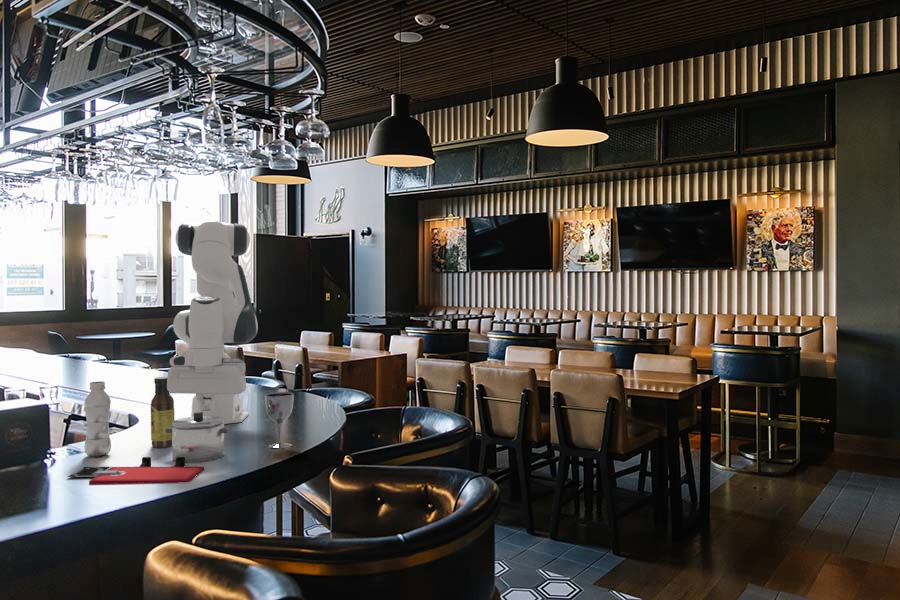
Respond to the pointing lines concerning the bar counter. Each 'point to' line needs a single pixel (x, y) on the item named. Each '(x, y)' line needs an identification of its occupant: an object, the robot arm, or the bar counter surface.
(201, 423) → the lid
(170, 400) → the sauce bottle
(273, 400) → the wine glass
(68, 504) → the bar counter surface
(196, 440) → the pot
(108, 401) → the plastic bottle
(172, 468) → the red board with handle
